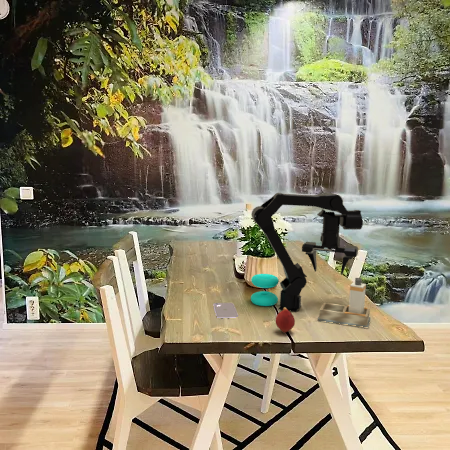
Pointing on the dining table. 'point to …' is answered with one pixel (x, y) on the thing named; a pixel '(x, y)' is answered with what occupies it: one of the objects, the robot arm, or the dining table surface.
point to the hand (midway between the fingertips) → (328, 272)
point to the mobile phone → (225, 310)
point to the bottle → (357, 296)
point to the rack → (343, 315)
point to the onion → (285, 320)
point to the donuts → (264, 296)
